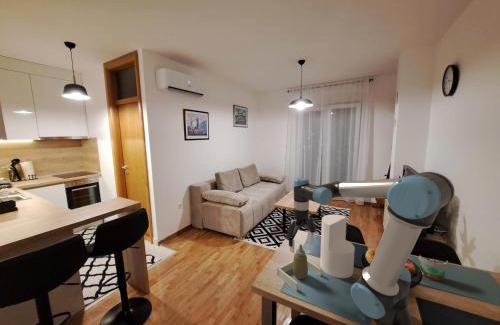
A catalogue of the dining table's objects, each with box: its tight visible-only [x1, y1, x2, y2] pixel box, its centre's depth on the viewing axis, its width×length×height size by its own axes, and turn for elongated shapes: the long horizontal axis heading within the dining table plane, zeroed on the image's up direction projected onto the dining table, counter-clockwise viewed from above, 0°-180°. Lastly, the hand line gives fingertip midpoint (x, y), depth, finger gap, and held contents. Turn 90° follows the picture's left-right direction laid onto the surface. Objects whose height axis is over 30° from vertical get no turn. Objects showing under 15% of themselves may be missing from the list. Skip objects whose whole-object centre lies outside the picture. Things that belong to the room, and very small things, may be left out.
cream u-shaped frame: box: [276, 259, 323, 292], centre depth 111 cm, size 14×19×4 cm
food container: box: [417, 255, 450, 283], centre depth 107 cm, size 12×6×10 cm, turn 65°
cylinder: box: [319, 214, 356, 279], centre depth 115 cm, size 17×17×28 cm
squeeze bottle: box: [292, 243, 309, 280], centre depth 110 cm, size 8×8×18 cm
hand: (301, 247), depth 108 cm, fingers open, 13 cm apart
